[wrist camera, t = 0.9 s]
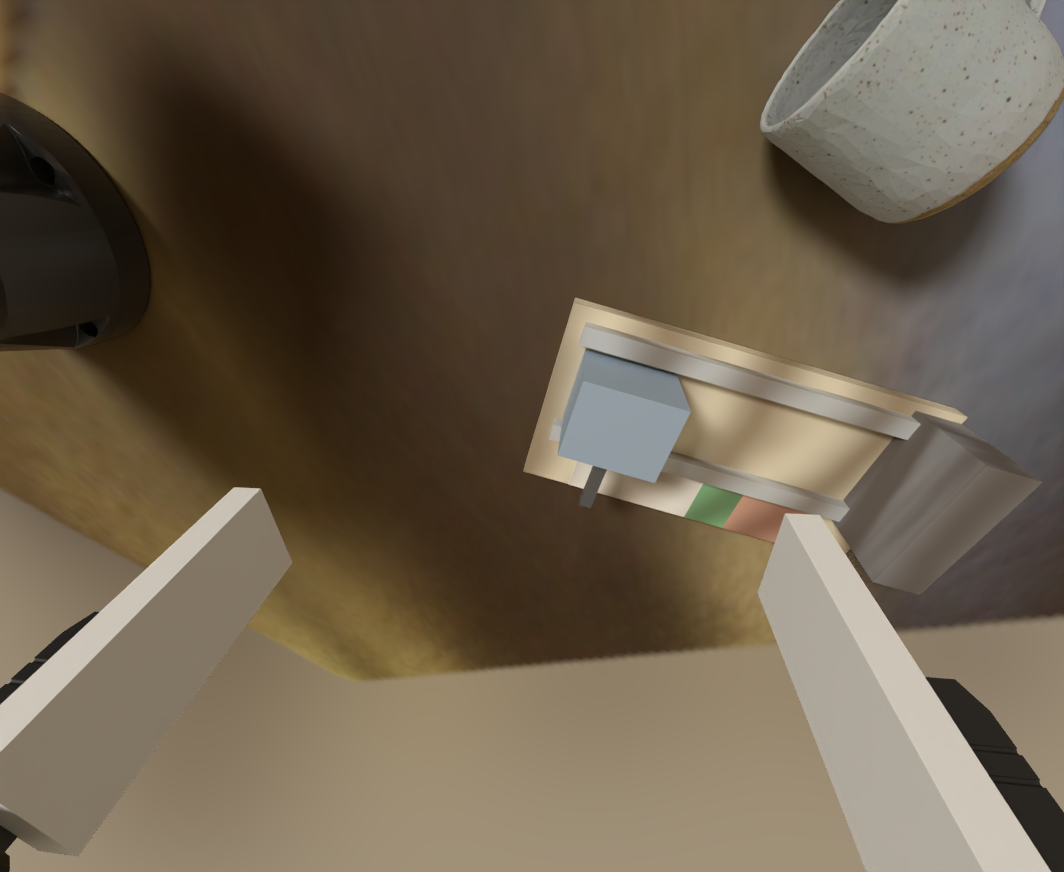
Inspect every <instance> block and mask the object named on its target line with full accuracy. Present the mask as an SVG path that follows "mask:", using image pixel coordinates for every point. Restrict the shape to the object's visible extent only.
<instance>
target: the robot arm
mask: <svg viewBox="0 0 1064 872" xmlns="http://www.w3.org/2000/svg"><path fill="white" fill-rule="evenodd" d="M149 290H150V275H149V267H148V261H147V256H146V252H145V249H144V245H143V242H142V239H141V236H140V234H139V231H138V229H137V227H136V224H135V222H134V220H133V218H132V216H131V214H130V212H129V210H128V208H127V206H126V205H125V203H124V201H123V200H122V198H121V196H120V195H119V193H118V192H117V190H116V189H115V187H114V186H113V184H112V183H111V182H110V180H109V179H108V177H107V176H106V175H105V173H104V172H103V171H102V170H101V168H100V167H99V166H98V165H97V164H96V163H95V161H94V160H93V159H92V158H91V157H90V156H89V155H88V154H87V153H86V152H85V150H84V149H83V148H82V147H81V146H80V145H79V144H78V143H76V142H75V141H74V140H73V139H72V138H71V137H70V136H69V135H68V134H67V133H65V132H64V131H63V130H62V129H61V128H59V127H58V126H57V125H56V124H54V123H53V122H52V121H50V120H49V119H48V118H46V117H45V116H43V115H42V114H40V113H39V112H37V111H36V110H34V109H33V108H31V107H29V106H27V105H25V104H24V103H22V102H20V101H18V100H16V99H14V98H12V97H9V96H7V95H4V94H2V93H0V351H22V350H49V349H74V348H81V347H86V346H90V345H94V344H96V343H99V342H102V341H105V340H108V339H111V338H113V337H116V336H119V335H121V334H123V333H125V332H127V331H128V330H130V329H131V328H132V327H133V326H135V324H136V323H137V322H138V321H139V320H140V318H141V317H142V315H143V313H144V311H145V308H146V306H147V302H148V297H149ZM291 564H292V561H291V558H290V556H289V554H288V551H287V549H286V546H285V544H284V542H283V539H282V537H281V535H280V532H279V530H278V528H277V525H276V523H275V521H274V518H273V516H272V514H271V511H270V509H269V506H268V504H267V502H266V499H265V497H264V495H263V492H262V490H261V489H259V488H238V487H234V488H233V489H232V490H231V491H229V492H228V493H227V494H226V495H225V496H224V497H223V498H222V499H221V500H220V501H219V502H218V503H217V504H215V505H214V506H213V507H212V508H211V509H210V510H209V511H208V512H207V513H206V514H205V515H204V516H203V517H202V518H200V519H199V520H198V521H197V522H196V523H195V524H194V525H193V526H192V527H191V528H190V529H189V530H188V531H186V532H185V533H184V534H183V535H182V536H181V537H180V538H179V539H178V540H177V541H176V542H175V543H174V544H173V545H171V546H170V547H169V548H168V549H167V550H166V551H165V552H164V553H163V554H162V555H161V556H160V557H159V558H157V559H156V560H155V561H154V562H153V563H152V564H151V565H150V566H149V567H148V568H147V569H146V570H145V571H143V572H142V574H140V575H139V576H138V577H137V578H136V579H135V580H134V581H133V582H132V583H131V584H130V585H128V586H127V587H126V588H125V589H124V590H123V591H122V592H121V593H120V594H119V595H118V596H117V597H116V598H114V599H113V600H112V601H111V602H110V603H109V604H108V605H107V606H106V607H105V608H104V609H103V610H102V611H101V612H94V613H92V614H90V615H89V616H87V617H86V618H84V619H83V620H81V621H80V622H78V623H76V624H75V625H73V626H72V627H70V628H69V629H67V630H66V631H64V632H63V633H62V634H60V635H59V636H58V637H57V638H56V639H55V640H54V641H52V642H51V644H49V645H48V646H47V647H46V648H45V649H44V650H42V652H40V653H39V654H38V655H37V656H36V657H35V660H34V662H32V663H28V664H27V665H26V666H25V667H24V668H23V669H22V670H20V671H19V672H18V673H17V674H16V675H15V676H14V677H13V678H12V681H11V682H10V683H9V684H5V685H4V686H3V687H2V688H0V872H9V870H10V857H9V855H7V854H6V853H5V851H6V850H7V849H8V847H9V846H10V845H11V844H12V843H13V841H14V840H15V839H16V838H17V837H18V838H19V839H21V840H22V841H24V842H26V843H27V844H29V845H30V846H32V847H33V848H35V849H36V850H38V851H43V852H51V853H57V854H64V855H72V856H79V854H80V853H81V852H82V850H83V849H84V848H85V846H86V845H87V843H88V842H89V841H90V839H91V838H92V837H93V835H94V834H95V832H96V831H97V830H98V828H99V827H100V825H101V824H102V823H103V821H104V820H105V819H106V817H107V816H108V815H109V813H110V812H111V810H112V809H113V808H114V806H115V805H116V804H117V802H118V801H119V800H120V798H121V797H122V795H123V794H124V793H125V791H126V790H127V788H128V787H129V786H130V785H131V783H132V782H133V780H134V779H135V778H136V776H137V775H138V774H139V772H140V771H141V769H142V768H143V767H144V765H145V764H146V763H147V761H148V760H149V758H150V757H151V756H152V754H153V753H154V752H155V750H156V749H157V748H158V746H159V745H160V743H161V742H162V740H163V739H164V738H165V737H166V735H167V734H168V732H169V731H170V730H171V728H172V727H173V725H174V724H175V723H176V722H177V720H178V719H179V717H180V716H181V715H182V713H183V712H184V711H185V709H186V708H187V706H188V705H189V704H190V702H191V701H192V699H193V698H194V697H195V695H196V694H197V693H198V691H199V690H200V689H201V687H202V686H203V684H204V683H205V682H206V680H207V679H208V678H209V676H210V675H211V674H212V672H213V671H214V669H215V668H216V667H217V665H218V664H219V663H220V661H221V660H222V659H223V657H224V656H225V654H226V653H227V652H228V650H229V649H230V647H231V646H232V645H233V643H234V642H235V641H236V639H237V638H238V637H239V635H240V634H241V632H242V631H243V630H244V628H245V627H246V626H247V624H248V623H249V622H250V620H251V619H252V617H253V616H254V615H255V613H256V612H257V611H258V609H259V608H260V606H261V605H262V604H263V602H264V601H265V600H266V598H267V597H268V596H269V594H270V593H271V591H272V590H273V589H274V587H275V586H276V585H277V583H278V582H279V580H280V579H281V578H282V576H283V575H284V574H285V572H286V571H287V569H288V568H289V567H290V565H291ZM758 595H759V598H760V600H761V603H762V605H763V608H764V611H765V613H766V616H767V618H768V621H769V623H770V626H771V629H772V631H773V634H774V636H775V639H776V641H777V644H778V646H779V649H780V651H781V654H782V657H783V659H784V662H785V664H786V667H787V670H788V672H789V675H790V677H791V680H792V682H793V685H794V687H795V690H796V693H797V695H798V698H799V700H800V703H801V705H802V708H803V711H804V713H805V716H806V718H807V721H808V723H809V726H810V728H811V731H812V733H813V736H814V739H815V741H816V744H817V747H818V749H819V752H820V754H821V757H822V759H823V762H824V764H825V767H826V770H827V772H828V775H829V777H830V780H831V782H832V785H833V787H834V790H835V793H836V795H837V798H838V800H839V803H840V806H841V808H842V810H843V813H844V816H845V818H846V821H847V823H848V826H849V829H850V831H851V834H852V836H853V839H854V842H855V844H856V846H857V849H858V852H859V854H860V857H861V860H862V862H863V865H864V867H865V870H866V872H1064V812H1063V811H1062V809H1061V808H1060V807H1059V806H1058V804H1057V803H1056V801H1055V800H1054V799H1053V797H1052V796H1051V794H1050V793H1049V792H1048V790H1047V789H1046V788H1043V787H1042V786H1041V785H1040V782H1039V780H1040V779H1039V778H1038V776H1037V775H1036V774H1035V772H1034V771H1033V770H1032V768H1031V767H1030V765H1029V764H1028V763H1027V761H1026V760H1025V759H1024V757H1023V756H1022V755H1019V754H1018V753H1017V750H1016V749H1017V748H1016V746H1015V745H1014V744H1013V742H1012V741H1011V739H1010V738H1009V737H1008V735H1007V734H1006V732H1005V731H1004V730H1003V728H1002V727H1001V725H1000V724H999V723H998V721H997V720H996V719H995V717H994V716H993V714H992V713H991V712H990V711H989V710H988V709H987V708H986V707H985V706H984V705H983V704H982V703H980V702H979V701H978V700H977V699H976V698H975V697H974V696H973V695H972V694H970V693H969V692H968V691H967V690H966V689H965V688H964V687H963V686H961V685H960V684H959V683H958V682H957V681H956V680H954V679H941V678H929V677H924V675H923V673H922V672H921V671H920V669H919V667H918V666H917V664H916V663H915V661H914V659H913V658H912V656H911V655H910V653H909V652H908V650H907V649H906V647H905V646H904V644H903V643H902V641H901V639H900V638H899V636H898V635H897V633H896V632H895V630H894V629H893V627H892V626H891V624H890V622H889V621H888V619H887V618H886V616H885V615H884V613H883V612H882V610H881V609H880V607H879V606H878V604H877V602H876V601H875V599H874V598H873V596H872V595H871V593H870V592H869V590H868V589H867V587H866V585H865V584H864V582H863V581H862V579H861V578H860V576H859V575H858V573H857V572H856V570H855V569H854V567H853V565H852V564H851V562H850V561H849V559H848V558H847V556H846V555H845V553H844V552H843V550H842V548H841V547H840V545H839V544H838V542H837V541H836V539H835V538H834V536H833V535H832V533H831V532H830V530H829V528H828V527H827V525H826V524H825V522H824V521H823V519H822V518H821V516H820V515H810V514H789V513H785V515H784V518H783V521H782V523H781V526H780V529H779V532H778V535H777V538H776V541H775V544H774V547H773V550H772V553H771V555H770V558H769V561H768V564H767V567H766V570H765V573H764V576H763V579H762V582H761V584H760V587H759V590H758Z"/></svg>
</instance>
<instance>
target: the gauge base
mask: <svg viewBox="0 0 1064 872" xmlns="http://www.w3.org/2000/svg"><path fill="white" fill-rule="evenodd" d="M585 349H589V350H593V351H596V352H600V353H603V354H606V355H610V356H613V357H617V358H620V359H624V360H627V361H631V362H634V363H638V364H641V365H645V366H648V367H651V368H655V369H658V370H662V371H665V372H669V373H672V374H676V375H677V376H678V379H679V381H680V384H681V387H682V389H683V392H684V395H685V397H686V400H687V403H688V405H689V408H690V411H691V413H690V415H689V417H688V419H687V421H686V423H685V425H684V427H683V429H682V431H681V433H680V435H679V437H678V439H677V441H676V442H675V444H674V446H673V448H672V450H671V452H670V454H669V456H668V458H667V460H666V462H665V464H664V466H663V468H662V470H661V472H660V474H659V476H658V478H657V480H656V482H655V483H652V482H649V481H645V480H642V479H638V478H635V477H631V476H628V475H624V474H621V473H617V472H614V471H610V470H607V471H606V473H605V475H604V478H603V480H602V482H601V485H600V487H599V489H598V492H597V493H600V494H604V495H607V496H611V497H614V498H618V499H621V500H625V501H629V502H632V503H636V504H639V505H643V506H646V507H650V508H653V509H657V510H660V511H664V512H668V513H671V514H675V515H678V516H682V517H685V518H689V519H692V520H696V521H699V522H703V523H707V524H710V525H714V526H717V527H721V528H724V529H728V530H731V531H735V532H738V533H742V534H746V535H749V536H753V537H756V538H760V539H763V540H767V541H770V542H774V543H775V541H776V538H777V535H778V532H779V529H780V526H781V523H782V521H783V518H784V515H785V513H789V514H810V515H820V516H821V518H822V519H823V521H824V522H825V524H826V525H827V527H828V528H829V530H830V532H831V533H832V535H833V536H834V538H835V539H836V541H837V542H838V544H839V545H840V547H841V548H842V550H843V552H844V553H845V554H846V553H847V552H848V551H849V550H850V549H851V550H852V552H853V553H854V555H855V556H856V558H857V559H858V561H859V562H860V564H861V565H862V567H863V568H864V570H865V571H866V573H867V574H868V576H869V577H870V579H871V580H872V582H874V583H878V584H881V585H885V586H888V587H892V588H895V589H899V590H902V591H906V592H910V593H913V594H917V595H920V594H921V593H922V592H923V591H924V590H926V589H927V588H928V587H929V586H930V585H931V584H932V583H933V582H934V581H935V580H936V579H938V578H939V577H940V576H941V575H942V574H943V573H944V572H945V571H946V570H947V569H948V568H950V567H951V566H952V565H953V564H954V563H955V562H956V561H957V560H958V559H959V558H961V557H962V556H963V555H964V554H965V553H966V552H967V551H968V550H969V549H970V548H971V547H973V546H974V545H975V544H976V543H977V542H978V541H979V540H980V539H981V538H982V537H983V536H985V535H986V534H987V533H988V532H989V531H990V530H991V529H992V528H993V527H994V526H995V525H997V524H998V523H999V522H1000V521H1001V520H1002V519H1003V518H1004V517H1005V516H1006V515H1007V514H1009V513H1010V512H1011V511H1012V510H1013V509H1014V508H1015V507H1016V506H1017V505H1018V504H1019V503H1021V502H1022V501H1023V500H1024V499H1025V498H1026V497H1027V496H1028V495H1029V494H1030V493H1032V492H1033V491H1034V490H1035V489H1036V488H1037V487H1038V486H1039V485H1040V484H1041V483H1042V481H1041V480H1039V479H1038V478H1037V477H1035V476H1034V475H1032V474H1031V473H1030V472H1028V471H1027V470H1025V469H1024V468H1023V467H1021V466H1020V465H1018V464H1017V463H1016V462H1014V461H1013V460H1011V459H1010V458H1008V457H1007V456H1006V455H1004V454H1003V453H1001V452H1000V451H999V450H997V449H996V448H994V447H993V446H992V445H990V444H989V443H987V442H986V441H985V440H983V439H982V438H980V437H979V436H978V435H976V434H975V433H973V432H972V431H971V430H969V429H968V428H966V427H965V426H964V425H962V423H963V422H964V421H965V420H966V419H967V416H965V415H964V414H962V413H961V412H959V411H958V410H956V409H955V408H952V407H949V406H945V405H942V404H938V403H935V402H931V401H928V400H925V399H921V398H918V397H914V396H911V395H907V394H904V393H901V392H897V391H894V390H890V389H887V388H884V387H880V386H877V385H873V384H870V383H866V382H863V381H860V380H856V379H853V378H849V377H846V376H842V375H839V374H836V373H832V372H829V371H825V370H822V369H818V368H815V367H812V366H808V365H805V364H801V363H798V362H794V361H791V360H788V359H784V358H781V357H777V356H774V355H770V354H767V353H764V352H760V351H757V350H753V349H750V348H746V347H743V346H740V345H736V344H733V343H729V342H726V341H723V340H719V339H716V338H712V337H709V336H705V335H702V334H699V333H695V332H692V331H688V330H685V329H681V328H678V327H675V326H671V325H668V324H664V323H661V322H657V321H654V320H651V319H647V318H644V317H640V316H637V315H633V314H630V313H627V312H623V311H620V310H616V309H613V308H609V307H606V306H603V305H599V304H596V303H592V302H589V301H586V300H582V299H579V298H575V300H574V303H573V306H572V310H571V313H570V316H569V320H568V323H567V326H566V330H565V333H564V336H563V339H562V343H561V346H560V349H559V353H558V356H557V359H556V363H555V366H554V369H553V373H552V376H551V379H550V383H549V386H548V389H547V393H546V396H545V399H544V403H543V406H542V409H541V413H540V416H539V419H538V422H537V426H536V429H535V432H534V436H533V439H532V442H531V446H530V449H529V452H528V456H527V459H526V462H525V466H524V470H523V471H524V472H528V473H531V474H535V475H538V476H542V477H545V478H549V479H552V480H556V481H559V482H563V483H567V484H569V485H572V486H575V487H579V488H582V489H584V486H585V484H586V482H587V479H588V477H589V474H590V472H591V469H592V467H593V466H592V465H589V464H585V463H582V462H578V461H575V460H571V459H568V458H564V457H561V456H558V449H559V441H560V434H561V427H562V420H563V414H564V411H565V408H566V405H567V402H568V399H569V396H570V393H571V390H572V387H573V384H574V381H575V378H576V375H577V372H578V369H579V366H580V363H581V360H582V357H583V355H584V352H585Z"/></svg>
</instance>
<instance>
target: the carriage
mask: <svg viewBox="0 0 1064 872" xmlns="http://www.w3.org/2000/svg"><path fill="white" fill-rule="evenodd" d="M690 413H691V411H690V408H689V405H688V403H687V400H686V397H685V395H684V392H683V389H682V387H681V384H680V381H679V379H678V376H677V375H676V374H672V373H669V372H665V371H662V370H658V369H655V368H651V367H648V366H645V365H641V364H638V363H634V362H631V361H627V360H624V359H620V358H617V357H613V356H610V355H606V354H603V353H600V352H596V351H593V350H589V349H585V352H584V355H583V357H582V360H581V363H580V366H579V369H578V372H577V375H576V378H575V381H574V384H573V387H572V390H571V393H570V396H569V399H568V402H567V405H566V408H565V411H564V414H563V420H562V427H561V434H560V441H559V449H558V456H561V457H564V458H568V459H571V460H575V461H578V462H582V463H585V464H589V465H592V466H593V467H592V469H591V472H590V474H589V477H588V479H587V482H586V484H585V486H584V489H583V491H582V494H581V496H580V499H579V505H581V506H584V507H588V508H591V506H592V503H593V501H594V499H595V496H596V494H597V492H598V489H599V487H600V485H601V482H602V480H603V478H604V475H605V473H606V471H607V470H610V471H614V472H617V473H621V474H624V475H628V476H631V477H635V478H638V479H642V480H645V481H649V482H652V483H655V482H656V480H657V478H658V476H659V474H660V472H661V470H662V468H663V466H664V464H665V462H666V460H667V458H668V456H669V454H670V452H671V450H672V448H673V446H674V444H675V442H676V441H677V439H678V437H679V435H680V433H681V431H682V429H683V427H684V425H685V423H686V421H687V419H688V417H689V415H690Z"/></svg>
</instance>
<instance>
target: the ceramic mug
mask: <svg viewBox="0 0 1064 872" xmlns="http://www.w3.org/2000/svg"><path fill="white" fill-rule="evenodd" d="M1046 1H1047V0H840V1H839V2H838V3H837V4H836V6H835V7H834V8H833V9H832V10H831V11H830V12H829V14H828V15H827V17H826V18H825V19H824V21H823V22H822V23H821V25H820V26H819V27H818V29H817V30H816V31H815V32H814V34H813V35H812V36H811V37H810V38H809V39H808V40H807V42H806V43H805V44H804V46H803V47H802V48H801V50H800V51H799V53H798V54H797V56H796V57H795V58H794V60H793V61H792V63H791V64H790V66H789V67H788V69H787V70H786V71H785V72H784V74H783V76H782V78H781V80H780V81H779V82H778V84H777V85H776V87H775V89H774V91H773V93H772V95H771V96H770V98H769V100H768V102H767V104H766V106H765V109H764V111H763V113H762V116H761V120H760V129H761V132H762V135H763V136H765V137H766V138H767V139H768V140H769V141H770V142H772V143H773V144H774V145H776V146H777V147H779V148H780V149H781V150H783V151H784V152H785V153H787V154H788V155H789V156H790V157H792V158H793V159H794V160H795V161H796V162H798V163H799V164H800V165H801V166H803V167H804V168H805V169H806V170H808V171H809V172H810V173H811V174H813V175H814V176H815V177H816V178H818V179H819V180H821V181H822V182H824V183H825V184H826V185H828V186H829V187H830V188H831V189H832V190H834V191H835V192H836V193H837V194H839V195H840V196H841V197H842V198H843V199H845V200H846V201H847V202H848V203H850V204H851V205H852V206H854V207H855V208H856V209H858V210H859V211H861V212H863V213H865V214H867V215H869V216H871V217H873V218H875V219H876V220H879V221H883V222H887V223H907V222H911V221H916V220H920V219H924V218H927V217H929V216H932V215H934V214H936V213H939V212H941V211H943V210H945V209H948V208H950V207H952V206H954V205H956V204H957V203H959V202H961V201H962V200H964V199H966V198H967V197H969V196H971V195H972V194H974V193H975V192H977V191H978V190H980V189H982V188H983V187H985V186H986V185H988V184H989V183H990V182H991V181H993V180H994V179H995V178H996V177H997V176H999V175H1000V174H1001V173H1002V172H1004V171H1005V170H1006V169H1007V168H1008V167H1010V166H1011V165H1012V164H1013V163H1014V162H1015V161H1017V160H1018V159H1019V158H1020V157H1021V156H1022V155H1023V154H1024V153H1025V151H1026V150H1027V149H1028V148H1029V147H1030V146H1031V145H1032V144H1033V143H1034V142H1035V141H1036V140H1037V139H1038V137H1039V136H1040V135H1041V134H1042V133H1043V131H1044V130H1045V129H1046V128H1047V126H1048V125H1049V123H1050V122H1051V120H1052V119H1053V117H1054V116H1055V114H1056V113H1057V111H1058V110H1059V108H1060V105H1061V103H1062V101H1063V99H1064V58H1063V56H1062V53H1061V50H1060V48H1059V45H1058V44H1057V42H1056V41H1055V39H1054V38H1053V36H1052V35H1051V33H1050V32H1049V30H1048V28H1047V27H1046V26H1045V24H1044V23H1043V22H1042V21H1041V20H1040V18H1041V15H1042V12H1043V9H1044V6H1045V3H1046Z"/></svg>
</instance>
